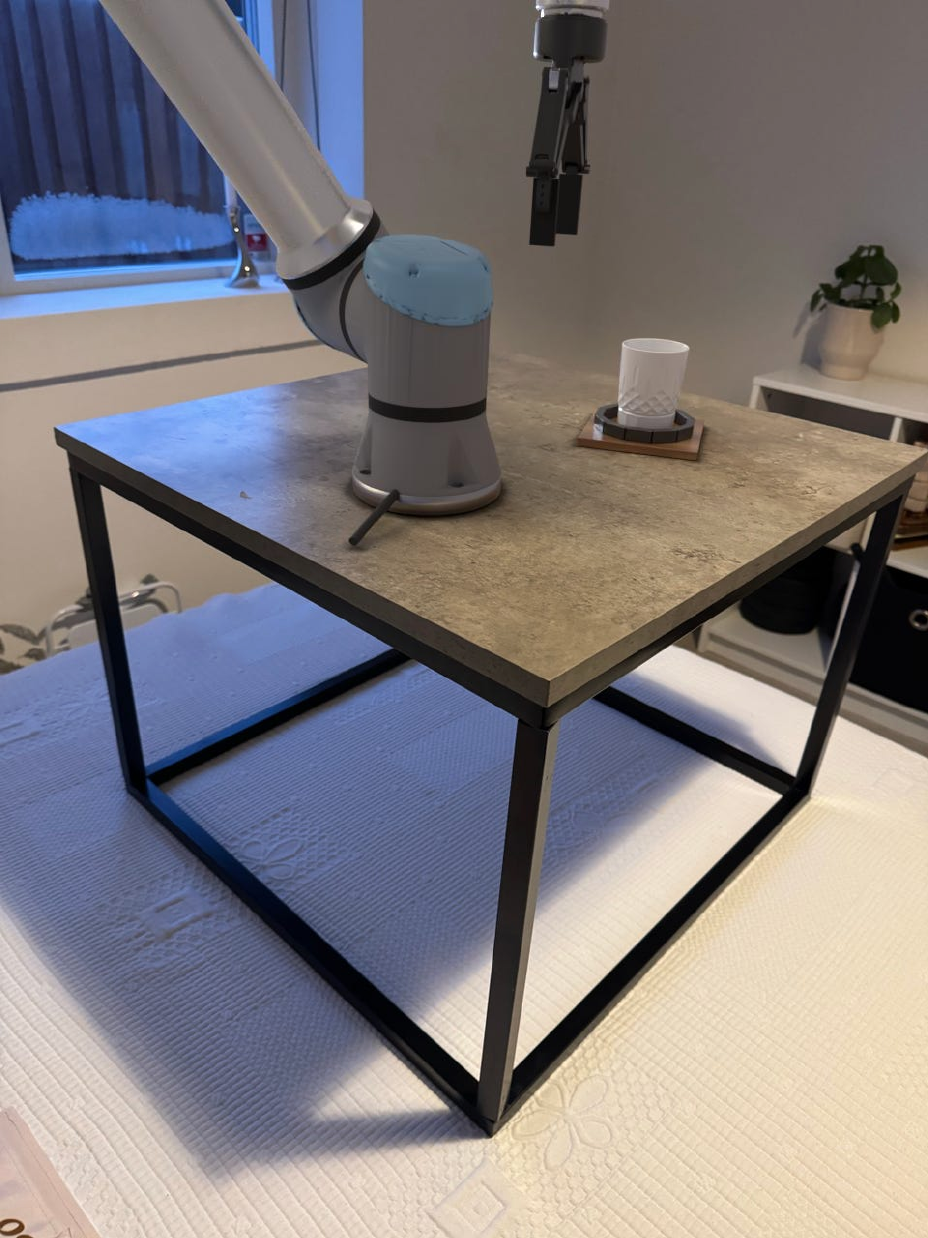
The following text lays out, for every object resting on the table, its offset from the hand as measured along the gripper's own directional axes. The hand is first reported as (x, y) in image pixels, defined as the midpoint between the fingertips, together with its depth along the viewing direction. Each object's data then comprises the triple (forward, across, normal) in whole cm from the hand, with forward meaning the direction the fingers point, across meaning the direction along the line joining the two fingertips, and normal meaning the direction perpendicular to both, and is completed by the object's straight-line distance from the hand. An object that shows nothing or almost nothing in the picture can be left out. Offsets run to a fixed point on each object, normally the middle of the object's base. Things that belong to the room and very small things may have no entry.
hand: (554, 239), depth 99 cm
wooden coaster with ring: (+22, 0, -13) cm, 25 cm away
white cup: (+21, 0, -13) cm, 25 cm away
